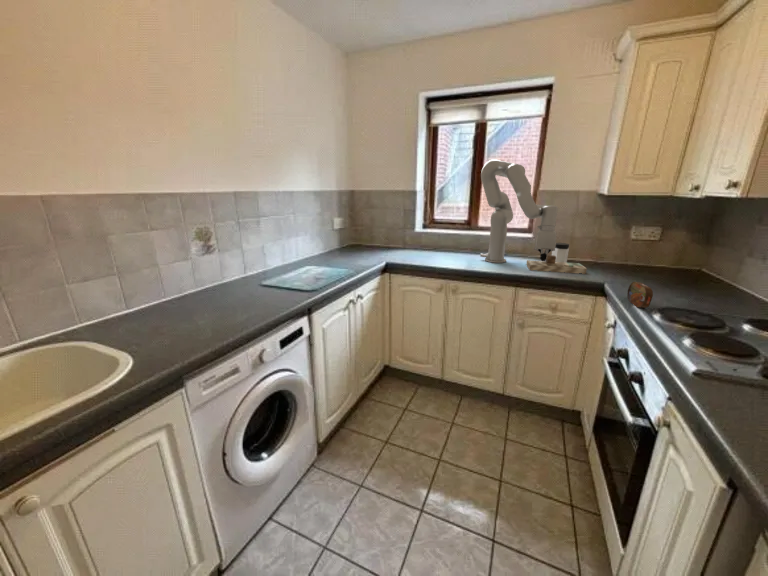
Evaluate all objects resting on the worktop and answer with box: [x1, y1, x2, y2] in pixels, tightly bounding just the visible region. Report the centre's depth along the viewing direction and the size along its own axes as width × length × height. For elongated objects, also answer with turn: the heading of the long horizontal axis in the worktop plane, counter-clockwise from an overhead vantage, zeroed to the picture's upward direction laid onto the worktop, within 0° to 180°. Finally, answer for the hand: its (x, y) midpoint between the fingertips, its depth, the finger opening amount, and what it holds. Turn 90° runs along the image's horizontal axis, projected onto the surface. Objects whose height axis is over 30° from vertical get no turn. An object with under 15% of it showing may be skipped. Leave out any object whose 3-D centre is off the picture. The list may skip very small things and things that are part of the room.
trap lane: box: [525, 260, 588, 275], centre depth 185 cm, size 28×13×3 cm, turn 75°
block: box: [545, 254, 556, 264], centre depth 187 cm, size 4×4×4 cm
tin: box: [626, 281, 654, 309], centre depth 128 cm, size 15×3×8 cm, turn 163°
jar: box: [551, 242, 570, 263], centre depth 199 cm, size 9×8×12 cm
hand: (542, 260), depth 188 cm, fingers closed
